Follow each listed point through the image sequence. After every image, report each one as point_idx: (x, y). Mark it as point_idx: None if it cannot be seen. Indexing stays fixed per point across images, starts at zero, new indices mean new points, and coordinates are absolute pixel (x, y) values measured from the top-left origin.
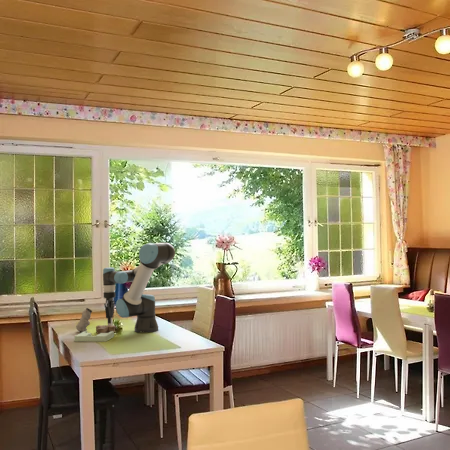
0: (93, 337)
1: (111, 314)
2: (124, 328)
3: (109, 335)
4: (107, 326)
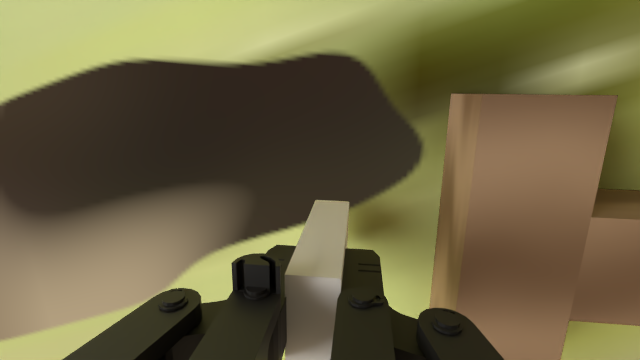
0: None
1: (263, 347)
2: (209, 51)
3: None
4: (580, 232)
